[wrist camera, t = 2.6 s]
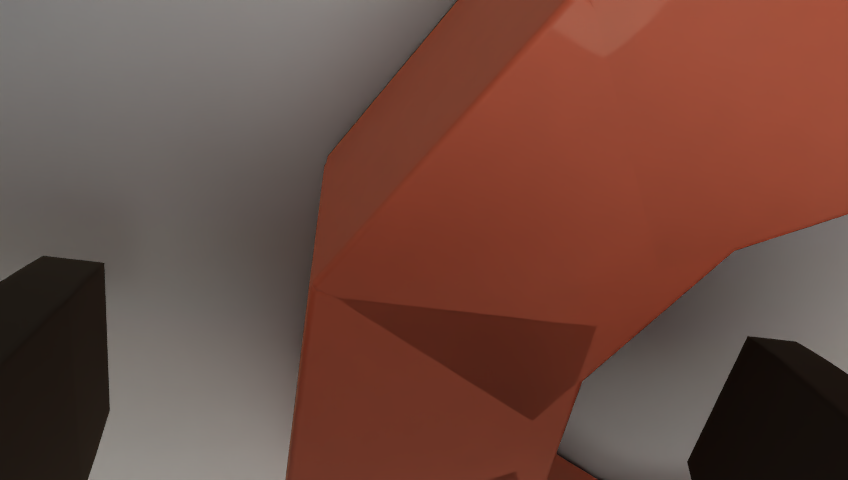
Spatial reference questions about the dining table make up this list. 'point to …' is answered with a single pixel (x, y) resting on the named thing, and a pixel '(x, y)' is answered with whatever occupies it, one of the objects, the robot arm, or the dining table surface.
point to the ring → (548, 216)
